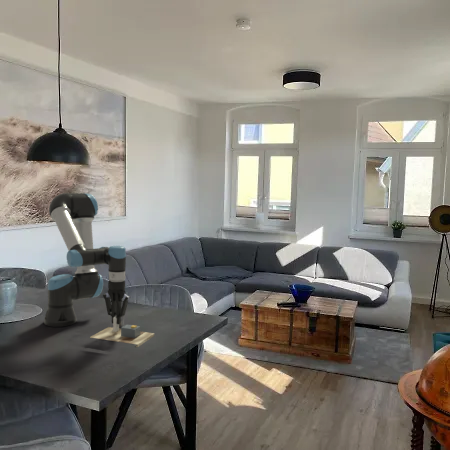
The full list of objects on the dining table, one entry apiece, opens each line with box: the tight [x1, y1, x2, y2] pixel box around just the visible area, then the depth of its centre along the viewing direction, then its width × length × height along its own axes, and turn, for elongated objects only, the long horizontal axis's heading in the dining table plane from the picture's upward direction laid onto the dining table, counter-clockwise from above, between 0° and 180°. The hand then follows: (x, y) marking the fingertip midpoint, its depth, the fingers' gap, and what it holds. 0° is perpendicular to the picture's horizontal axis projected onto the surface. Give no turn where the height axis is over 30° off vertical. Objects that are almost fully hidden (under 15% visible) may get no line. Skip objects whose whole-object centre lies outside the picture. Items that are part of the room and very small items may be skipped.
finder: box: [120, 324, 141, 338], centre depth 209 cm, size 7×5×5 cm
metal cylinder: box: [119, 315, 125, 329], centre depth 221 cm, size 3×3×9 cm
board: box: [89, 326, 155, 348], centre depth 210 cm, size 24×16×1 cm, turn 73°
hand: (116, 330), depth 212 cm, fingers closed
